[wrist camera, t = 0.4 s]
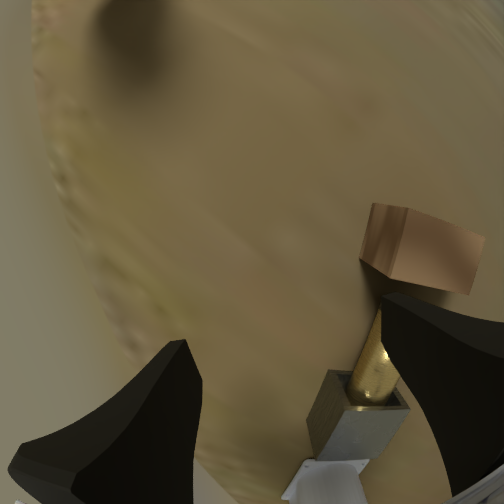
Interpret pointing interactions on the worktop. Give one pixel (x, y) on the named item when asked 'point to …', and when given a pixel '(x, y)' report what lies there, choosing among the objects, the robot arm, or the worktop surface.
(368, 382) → the tube
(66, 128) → the worktop surface
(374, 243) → the brown rectangular block
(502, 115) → the worktop surface
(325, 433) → the sleeve
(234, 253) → the worktop surface
